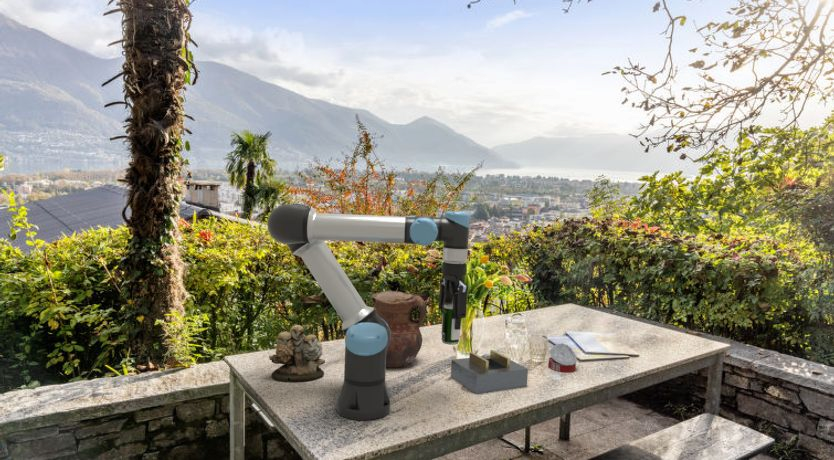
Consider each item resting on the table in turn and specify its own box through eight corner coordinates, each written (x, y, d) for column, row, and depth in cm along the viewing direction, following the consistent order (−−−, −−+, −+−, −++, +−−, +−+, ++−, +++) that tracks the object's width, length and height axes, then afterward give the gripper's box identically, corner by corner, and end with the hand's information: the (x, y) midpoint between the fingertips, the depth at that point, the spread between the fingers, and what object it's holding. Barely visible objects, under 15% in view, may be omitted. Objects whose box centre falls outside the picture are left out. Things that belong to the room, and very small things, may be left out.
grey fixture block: (475, 394, 156) (477, 365, 155) (448, 375, 171) (449, 349, 171) (534, 385, 166) (535, 359, 165) (503, 368, 181) (504, 344, 181)
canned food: (571, 379, 187) (586, 358, 185) (563, 383, 179) (579, 361, 177) (547, 359, 193) (561, 339, 191) (538, 362, 185) (553, 341, 183)
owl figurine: (269, 384, 155) (270, 331, 155) (267, 372, 167) (269, 322, 166) (326, 380, 161) (328, 328, 160) (321, 368, 172) (323, 320, 171)
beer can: (448, 345, 149) (450, 306, 148) (438, 341, 153) (440, 302, 153) (462, 343, 152) (464, 305, 151) (451, 339, 156) (453, 301, 156)
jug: (369, 373, 170) (372, 301, 168) (356, 354, 190) (359, 290, 188) (429, 369, 177) (433, 300, 175) (411, 351, 197) (414, 289, 195)
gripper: (481, 265, 145) (476, 344, 146) (450, 258, 161) (446, 328, 162) (459, 266, 141) (454, 346, 143) (430, 258, 158) (426, 330, 159)
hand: (450, 336), depth 152 cm, fingers closed on beer can, 5 cm apart
